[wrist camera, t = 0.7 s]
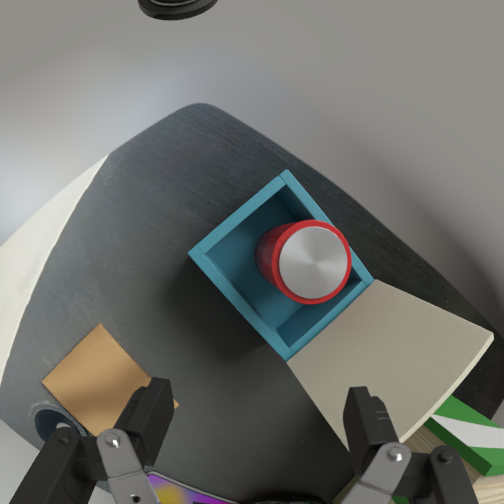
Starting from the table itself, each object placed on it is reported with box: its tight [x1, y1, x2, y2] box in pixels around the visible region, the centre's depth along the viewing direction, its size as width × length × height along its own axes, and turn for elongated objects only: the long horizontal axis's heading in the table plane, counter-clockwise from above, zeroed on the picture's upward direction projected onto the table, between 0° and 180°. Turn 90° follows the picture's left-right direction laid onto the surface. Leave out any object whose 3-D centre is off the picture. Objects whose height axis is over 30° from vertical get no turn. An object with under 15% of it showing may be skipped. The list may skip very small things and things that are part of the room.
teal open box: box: [188, 169, 374, 362], centre depth 30 cm, size 13×11×7 cm
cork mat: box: [42, 323, 179, 437], centre depth 31 cm, size 13×13×1 cm
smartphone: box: [146, 471, 240, 504], centre depth 33 cm, size 7×1×15 cm
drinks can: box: [254, 220, 352, 305], centre depth 27 cm, size 6×6×10 cm
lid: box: [286, 279, 494, 451], centre depth 20 cm, size 14×11×1 cm
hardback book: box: [391, 395, 504, 504], centre depth 24 cm, size 18×7×24 cm, turn 63°
